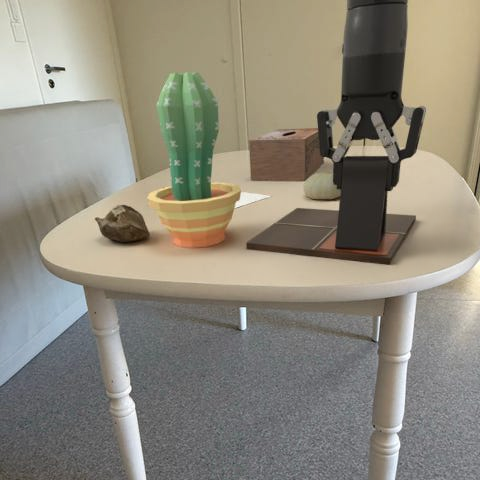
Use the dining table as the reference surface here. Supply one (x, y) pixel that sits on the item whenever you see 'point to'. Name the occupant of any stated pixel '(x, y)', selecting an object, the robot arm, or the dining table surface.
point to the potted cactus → (192, 165)
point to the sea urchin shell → (321, 187)
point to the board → (328, 236)
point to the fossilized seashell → (123, 224)
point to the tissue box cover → (285, 155)
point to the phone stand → (362, 203)
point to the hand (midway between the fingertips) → (364, 188)
